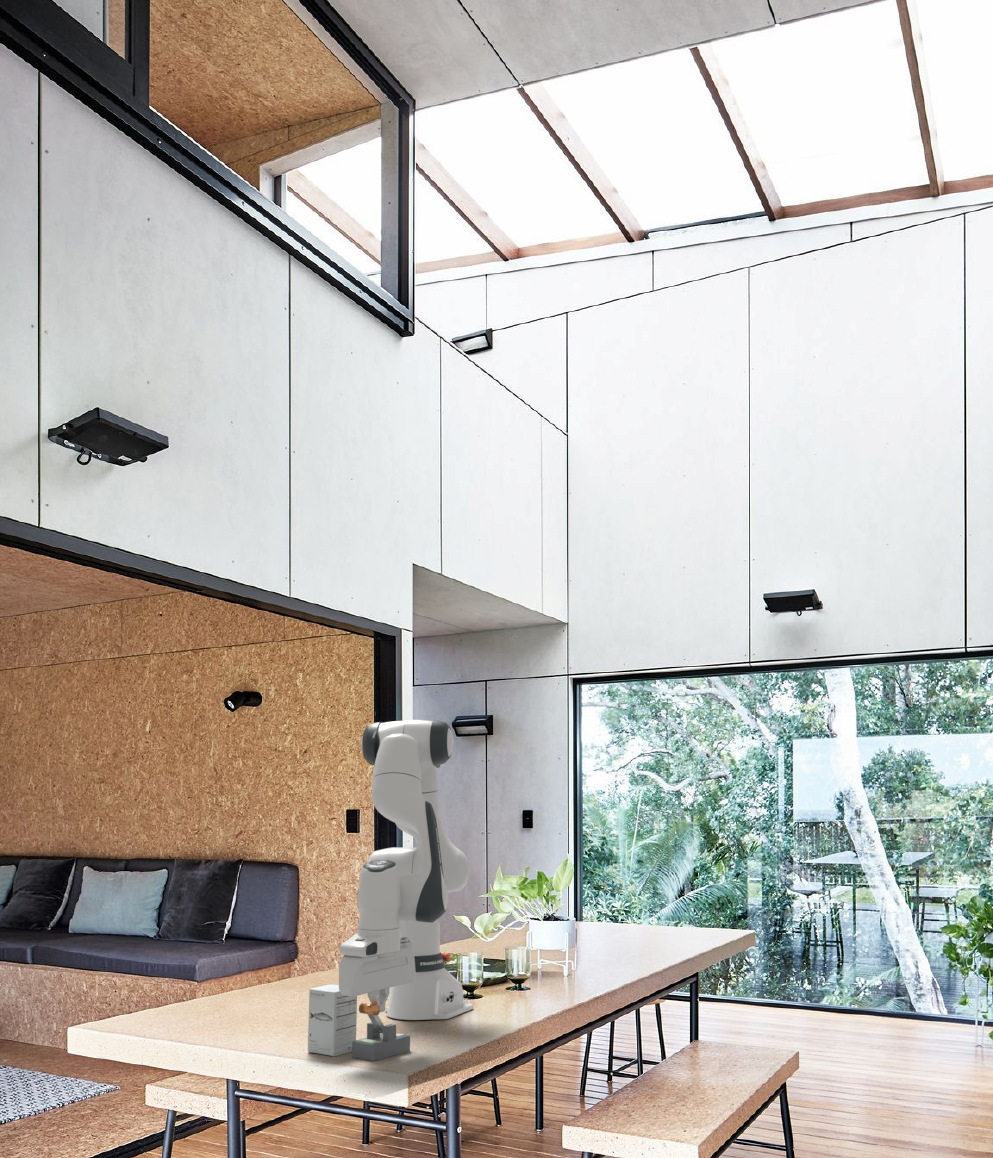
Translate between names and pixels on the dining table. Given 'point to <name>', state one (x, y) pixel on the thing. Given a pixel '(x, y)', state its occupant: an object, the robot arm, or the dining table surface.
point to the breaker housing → (380, 1043)
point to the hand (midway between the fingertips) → (378, 1012)
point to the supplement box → (331, 1021)
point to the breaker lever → (372, 1015)
